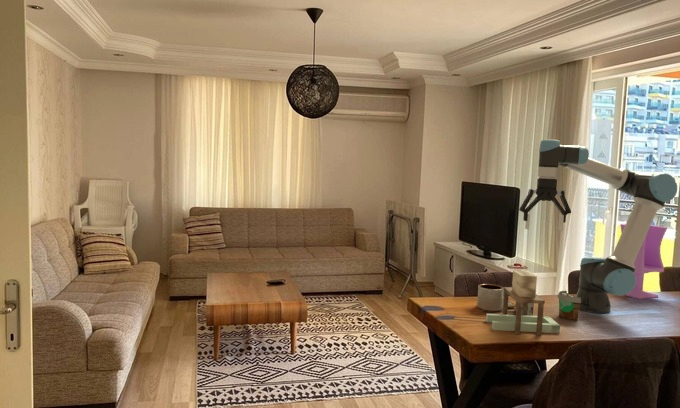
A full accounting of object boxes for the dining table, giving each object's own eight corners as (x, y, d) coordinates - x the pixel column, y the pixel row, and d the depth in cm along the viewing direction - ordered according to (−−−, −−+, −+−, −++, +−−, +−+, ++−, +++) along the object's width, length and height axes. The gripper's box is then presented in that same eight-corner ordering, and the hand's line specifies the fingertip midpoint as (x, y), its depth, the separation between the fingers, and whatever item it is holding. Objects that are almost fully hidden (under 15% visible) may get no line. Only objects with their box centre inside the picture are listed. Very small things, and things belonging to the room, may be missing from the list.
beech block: (527, 290, 214) (528, 270, 214) (535, 297, 204) (536, 276, 204) (511, 289, 214) (513, 270, 214) (519, 296, 204) (520, 275, 204)
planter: (475, 309, 233) (476, 287, 232) (478, 303, 243) (480, 282, 242) (501, 313, 228) (502, 291, 228) (503, 306, 238) (505, 285, 238)
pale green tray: (548, 323, 216) (549, 316, 216) (559, 333, 204) (560, 325, 204) (485, 320, 217) (486, 313, 216) (493, 330, 205) (493, 322, 205)
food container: (550, 312, 232) (552, 290, 231) (564, 313, 232) (566, 290, 231) (564, 321, 219) (566, 297, 218) (579, 321, 220) (581, 297, 219)
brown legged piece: (526, 319, 220) (528, 288, 219) (542, 335, 201) (544, 300, 200) (501, 318, 220) (503, 287, 219) (515, 334, 201) (517, 299, 200)
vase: (639, 299, 260) (645, 228, 257) (611, 292, 274) (617, 223, 271) (661, 297, 266) (667, 227, 263) (633, 290, 280) (638, 223, 277)
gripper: (574, 178, 222) (570, 229, 224) (513, 176, 223) (510, 227, 225) (582, 179, 215) (578, 232, 217) (519, 177, 216) (515, 229, 217)
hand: (543, 229), depth 221 cm, fingers open, 13 cm apart
